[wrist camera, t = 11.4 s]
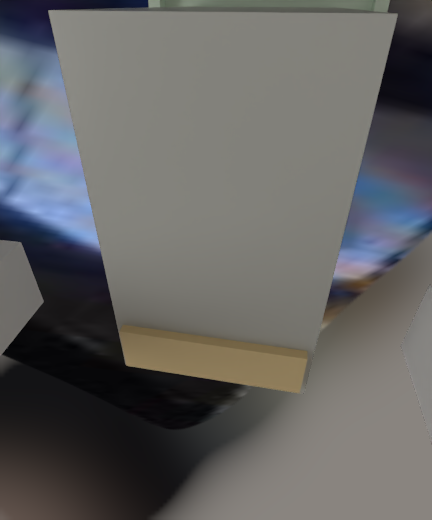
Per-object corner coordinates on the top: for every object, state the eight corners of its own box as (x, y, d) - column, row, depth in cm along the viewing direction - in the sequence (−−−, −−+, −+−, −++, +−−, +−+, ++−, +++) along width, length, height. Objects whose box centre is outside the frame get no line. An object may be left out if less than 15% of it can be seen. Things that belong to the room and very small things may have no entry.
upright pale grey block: (197, 214, 21) (122, 372, 12) (191, 6, 15) (38, 10, 6) (301, 224, 20) (304, 402, 11) (336, 7, 14) (402, 13, 5)
